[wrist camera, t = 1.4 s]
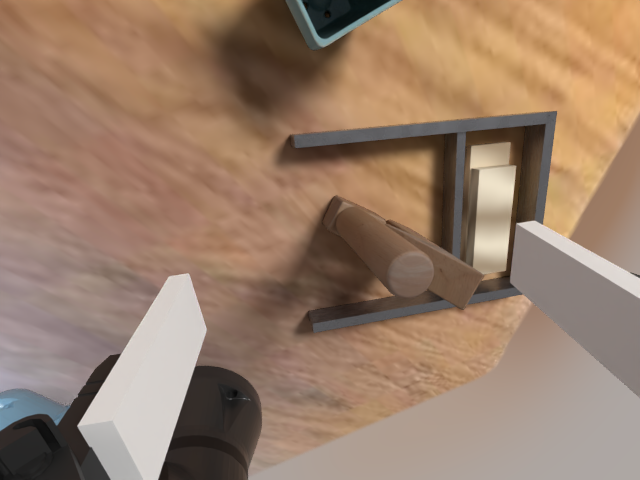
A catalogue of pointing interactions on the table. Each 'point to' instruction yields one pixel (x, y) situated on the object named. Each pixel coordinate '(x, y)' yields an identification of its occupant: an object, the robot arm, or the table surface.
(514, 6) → the table surface
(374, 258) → the wooden block
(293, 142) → the tray
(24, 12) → the table surface
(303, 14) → the flower pot
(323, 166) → the table surface
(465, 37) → the table surface
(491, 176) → the offcut stack
